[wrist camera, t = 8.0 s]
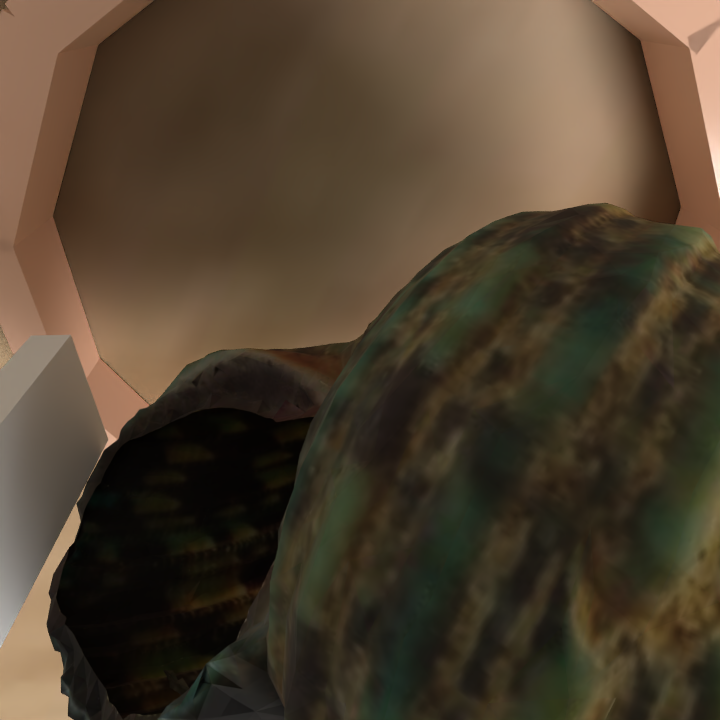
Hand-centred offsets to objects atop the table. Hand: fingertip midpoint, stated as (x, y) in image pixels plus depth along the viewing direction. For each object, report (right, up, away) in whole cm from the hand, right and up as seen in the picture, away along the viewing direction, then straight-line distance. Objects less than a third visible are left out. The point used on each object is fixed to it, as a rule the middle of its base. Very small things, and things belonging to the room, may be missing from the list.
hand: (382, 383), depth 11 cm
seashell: (0, +1, +2) cm, 2 cm away
